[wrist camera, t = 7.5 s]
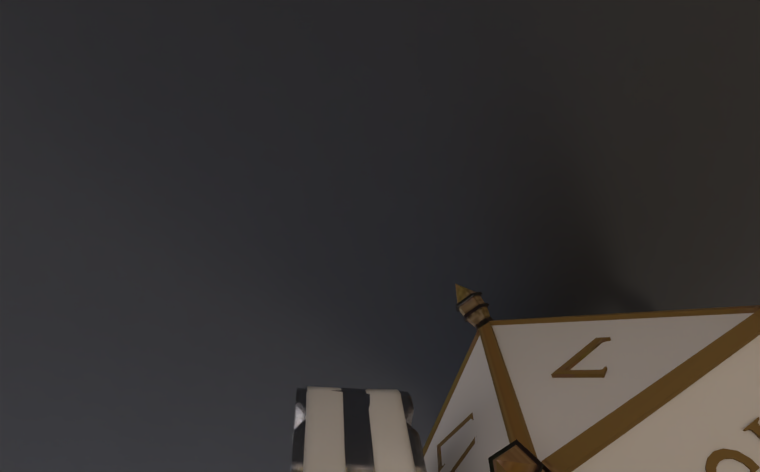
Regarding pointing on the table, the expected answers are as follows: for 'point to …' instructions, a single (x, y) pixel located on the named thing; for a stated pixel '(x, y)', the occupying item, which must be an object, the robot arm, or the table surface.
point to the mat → (343, 202)
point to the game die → (603, 393)
